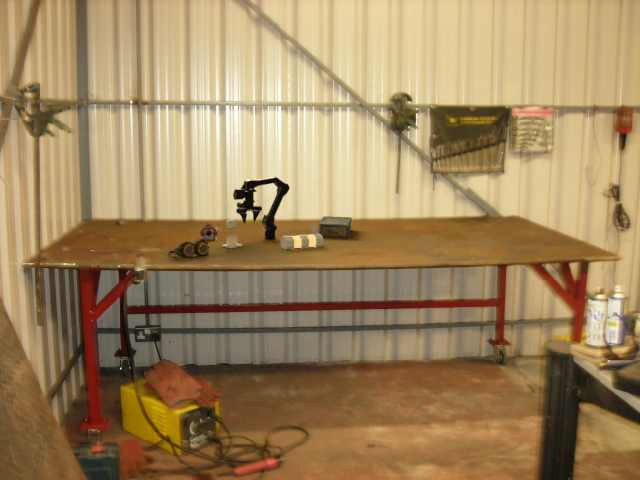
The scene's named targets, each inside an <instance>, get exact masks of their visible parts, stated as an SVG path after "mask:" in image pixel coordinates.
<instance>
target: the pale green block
mask: <svg viewBox="0 0 640 480" xmlns="http://www.w3.org/2000/svg"><path fill="white" fill-rule="evenodd" d="M237 228H238V219H235V218H234V219H233V218H232V219H227V220H226V229H227V230H233V229H237Z"/></svg>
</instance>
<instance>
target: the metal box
mask: <svg viewBox="0 0 640 480" xmlns="http://www.w3.org/2000/svg"><path fill="white" fill-rule="evenodd" d="M352 219H353V218H352V217H351V216H350V217H348V216H347V217H345V216H344V217H343V216H322V217H321V219H320V221H319V222H318V226H319V227H318V234H321V235H322V236H323V237H324V238H329V239H349V235H350V233H351V229H352V228H351V227H352V225H351V224H352ZM324 238H323V239H324Z"/></svg>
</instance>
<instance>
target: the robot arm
mask: <svg viewBox="0 0 640 480" xmlns="http://www.w3.org/2000/svg"><path fill="white" fill-rule="evenodd" d="M271 184H273V185H274V186H276V195H275V198H274V199H273V202H272V204H271V206H270V209H269V211H268V212H267V214H264V215H263V217H262V219H261V225H262V226H263V227H264V229H265V230H264V238H265V240H276V231H277V229H278V226H277V225H276V224H275V221H276V219H275V217H276V214H277V211H278V210H279V207H280V205H281V203H282V200H283V198H284V197H285V196H286V195H287V194H288V192H289V190H290V185H289V184H288V183H285V182H283V180H281V179H280V178H278V177H276V176H271V177H266V178H259V179H245V180H244V181H243V185H242V186H241V187H240V188H239V189H238V188H234V189H233V190H234V191H233V192H232V196H233V200H234V201H237V200H238V201H239V200H243V202H241V201H240V202H237V203H236V207H237V209H236V214H238V215H240V217H241V220H242V223H243V224H246V222H247V216H248V213H247V212H250V211H251V213H252V217H253V218H252V219H253V220H252V221H253V222H254V223H255V222H256V221H257V218H258V216H259V215H260V213H261V211H263V207H262V206H261V205H255V204H254V203H255V202H256V201H255V200H254V199H255V197H254V195H255V194H254V193H257V189H255V188H258V187H260V186H265V185H271Z"/></svg>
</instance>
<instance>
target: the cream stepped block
mask: <svg viewBox="0 0 640 480" xmlns="http://www.w3.org/2000/svg"><path fill="white" fill-rule="evenodd" d="M238 240H239V239H238V235H235V234H234V235H229V236H226V243H225V244H222V245H221V247H222V248H228V249H234V248H238V247H243V244H242V243H238Z"/></svg>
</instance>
